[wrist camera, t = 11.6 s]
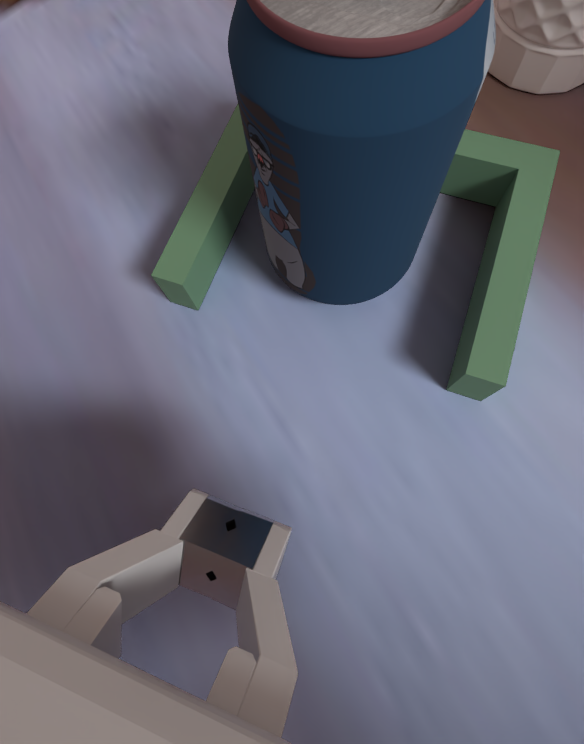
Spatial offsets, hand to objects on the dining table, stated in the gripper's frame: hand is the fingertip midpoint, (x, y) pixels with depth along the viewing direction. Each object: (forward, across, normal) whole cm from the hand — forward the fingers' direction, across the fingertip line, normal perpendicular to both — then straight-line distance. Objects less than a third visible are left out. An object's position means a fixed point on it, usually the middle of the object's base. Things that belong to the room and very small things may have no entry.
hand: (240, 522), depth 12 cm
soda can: (+13, +1, -5) cm, 14 cm away
